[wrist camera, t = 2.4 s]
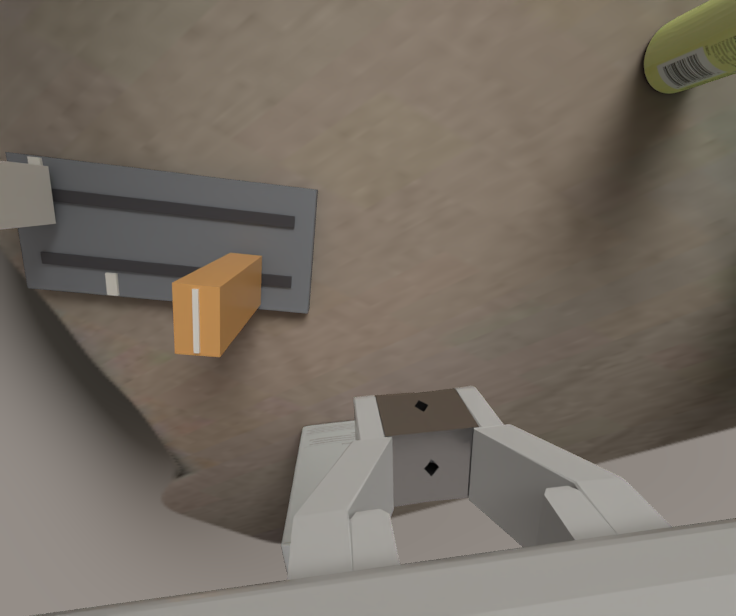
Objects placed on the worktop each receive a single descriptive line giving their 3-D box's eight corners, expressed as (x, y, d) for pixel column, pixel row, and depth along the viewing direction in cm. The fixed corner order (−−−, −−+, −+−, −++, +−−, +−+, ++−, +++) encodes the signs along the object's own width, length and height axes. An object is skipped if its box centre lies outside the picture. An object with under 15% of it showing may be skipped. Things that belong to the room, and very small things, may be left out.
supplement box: (301, 424, 35) (277, 543, 23) (377, 416, 36) (392, 530, 24) (311, 485, 38) (294, 622, 26) (382, 477, 38) (399, 609, 26)
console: (39, 284, 30) (25, 288, 29) (20, 153, 27) (2, 151, 26) (309, 309, 32) (307, 314, 31) (317, 189, 29) (316, 189, 28)
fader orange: (230, 301, 29) (173, 354, 20) (230, 252, 28) (170, 283, 19) (260, 304, 30) (219, 358, 20) (262, 255, 28) (218, 288, 19)
